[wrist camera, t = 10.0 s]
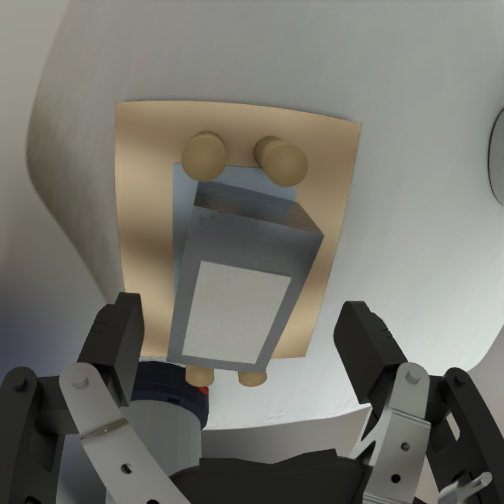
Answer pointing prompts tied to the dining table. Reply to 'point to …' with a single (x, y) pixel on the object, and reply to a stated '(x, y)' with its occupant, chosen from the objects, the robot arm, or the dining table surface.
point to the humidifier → (167, 416)
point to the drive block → (239, 277)
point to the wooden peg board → (230, 173)
